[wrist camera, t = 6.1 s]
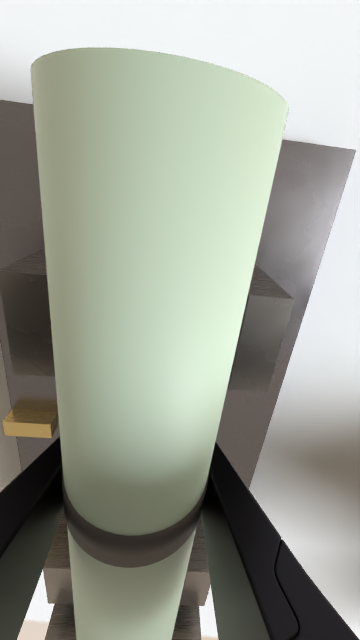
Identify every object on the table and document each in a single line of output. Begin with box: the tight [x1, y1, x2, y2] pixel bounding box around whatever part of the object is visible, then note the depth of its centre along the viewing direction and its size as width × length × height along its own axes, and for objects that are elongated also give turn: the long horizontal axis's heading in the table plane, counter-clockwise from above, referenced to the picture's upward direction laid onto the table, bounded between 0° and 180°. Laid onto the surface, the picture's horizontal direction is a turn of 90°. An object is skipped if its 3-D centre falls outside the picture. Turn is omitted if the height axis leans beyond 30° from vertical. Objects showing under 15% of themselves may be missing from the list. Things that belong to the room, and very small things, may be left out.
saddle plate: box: [0, 100, 356, 640], centre depth 12 cm, size 12×24×6 cm, turn 174°
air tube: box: [31, 48, 289, 640], centre depth 9 cm, size 4×18×4 cm, turn 173°
